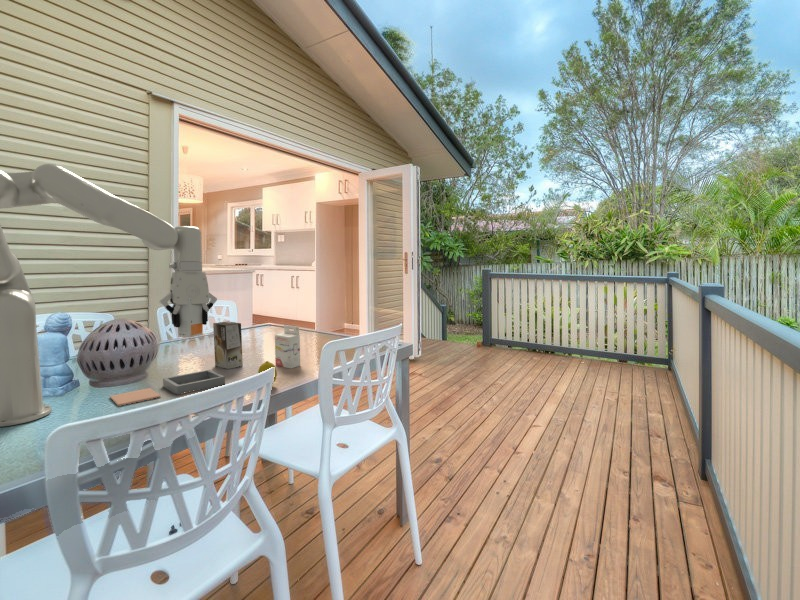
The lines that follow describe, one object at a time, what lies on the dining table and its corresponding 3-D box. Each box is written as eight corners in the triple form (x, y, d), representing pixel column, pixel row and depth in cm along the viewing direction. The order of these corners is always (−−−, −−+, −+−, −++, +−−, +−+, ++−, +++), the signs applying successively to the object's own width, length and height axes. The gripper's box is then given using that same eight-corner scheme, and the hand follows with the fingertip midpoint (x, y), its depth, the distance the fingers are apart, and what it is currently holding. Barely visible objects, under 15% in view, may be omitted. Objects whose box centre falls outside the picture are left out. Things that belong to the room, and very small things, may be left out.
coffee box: (243, 365, 151) (242, 323, 149) (227, 369, 146) (225, 325, 144) (230, 362, 156) (228, 320, 155) (214, 365, 151) (212, 322, 149)
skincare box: (190, 337, 122) (188, 298, 121) (177, 337, 123) (176, 297, 122) (203, 334, 128) (202, 296, 127) (191, 334, 129) (190, 296, 128)
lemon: (258, 390, 122) (257, 364, 121) (258, 384, 127) (258, 359, 127) (277, 388, 124) (276, 362, 123) (277, 383, 129) (276, 358, 128)
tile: (118, 406, 108) (118, 404, 108) (109, 398, 115) (109, 395, 115) (160, 397, 115) (160, 395, 115) (149, 389, 122) (149, 388, 122)
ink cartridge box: (274, 365, 151) (273, 326, 150) (285, 362, 155) (283, 324, 154) (290, 368, 146) (289, 328, 145) (301, 365, 151) (300, 326, 149)
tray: (177, 394, 118) (176, 386, 117) (163, 386, 126) (162, 378, 126) (225, 384, 128) (224, 376, 128) (209, 377, 136) (209, 369, 136)
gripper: (160, 267, 115) (163, 330, 116) (222, 267, 127) (224, 324, 129) (152, 267, 120) (154, 327, 121) (212, 267, 132) (214, 321, 134)
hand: (190, 325), depth 125 cm, fingers closed on skincare box, 7 cm apart
